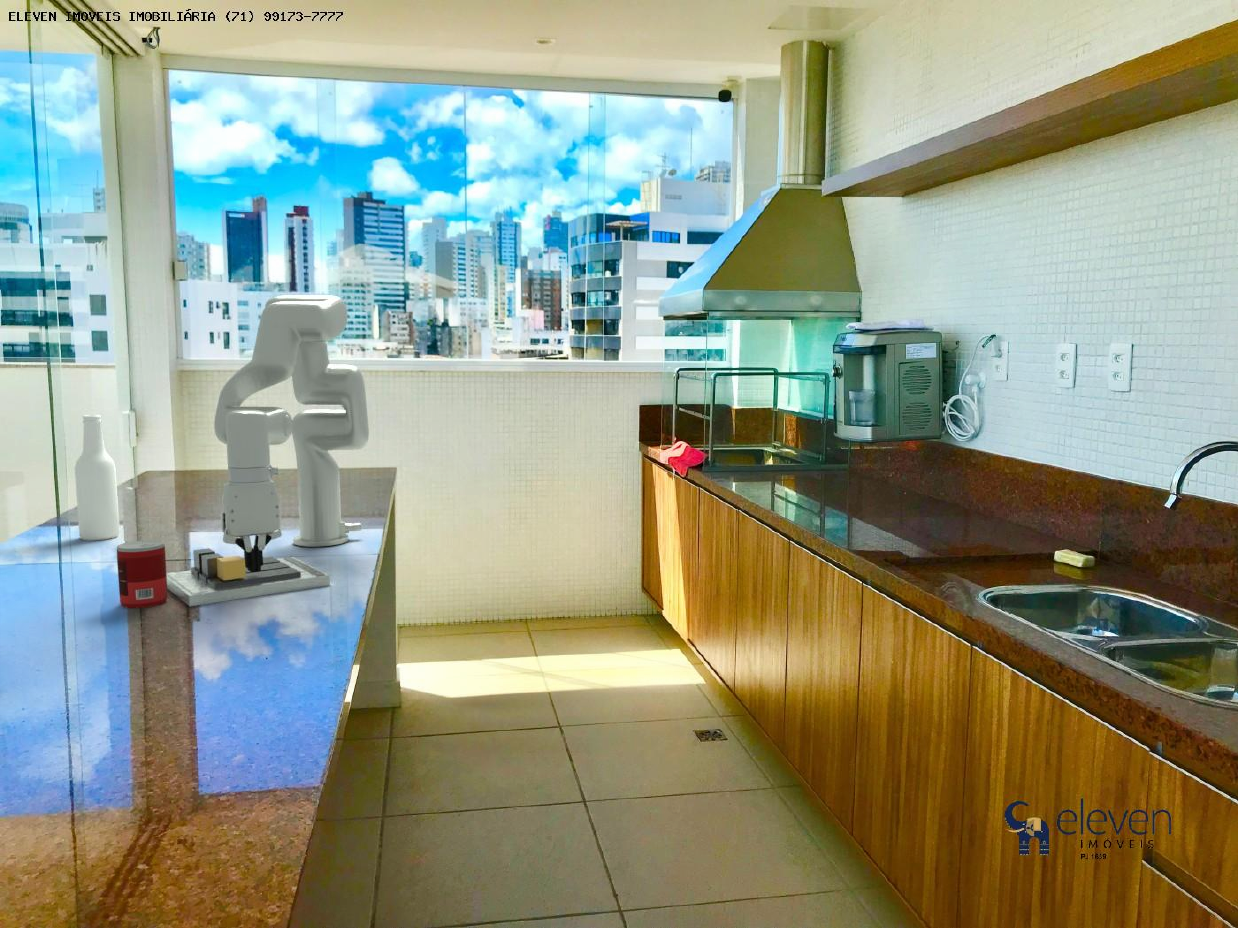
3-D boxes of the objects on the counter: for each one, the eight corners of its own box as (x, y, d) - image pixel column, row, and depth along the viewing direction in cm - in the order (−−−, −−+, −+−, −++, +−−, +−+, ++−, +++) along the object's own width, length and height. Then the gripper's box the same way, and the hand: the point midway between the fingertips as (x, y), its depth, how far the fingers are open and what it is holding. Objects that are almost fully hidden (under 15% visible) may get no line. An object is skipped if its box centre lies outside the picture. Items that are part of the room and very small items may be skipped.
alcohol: (71, 539, 239) (62, 416, 235) (102, 532, 247) (94, 413, 243) (97, 542, 236) (89, 417, 232) (128, 535, 244) (120, 414, 240)
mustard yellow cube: (239, 573, 189) (238, 555, 188) (245, 577, 185) (244, 559, 185) (217, 576, 186) (216, 558, 186) (223, 580, 183) (222, 561, 183)
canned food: (177, 599, 182) (174, 541, 181) (143, 610, 175) (140, 549, 173) (144, 596, 185) (141, 538, 183) (110, 606, 177) (106, 546, 176)
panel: (293, 566, 210) (292, 536, 209) (330, 585, 193) (328, 552, 192) (162, 584, 194) (160, 551, 193) (189, 606, 177) (187, 571, 177)
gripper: (282, 470, 193) (286, 562, 196) (202, 476, 184) (207, 572, 187) (295, 474, 188) (299, 568, 190) (214, 481, 178) (219, 580, 181)
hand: (254, 570), depth 188 cm, fingers closed
